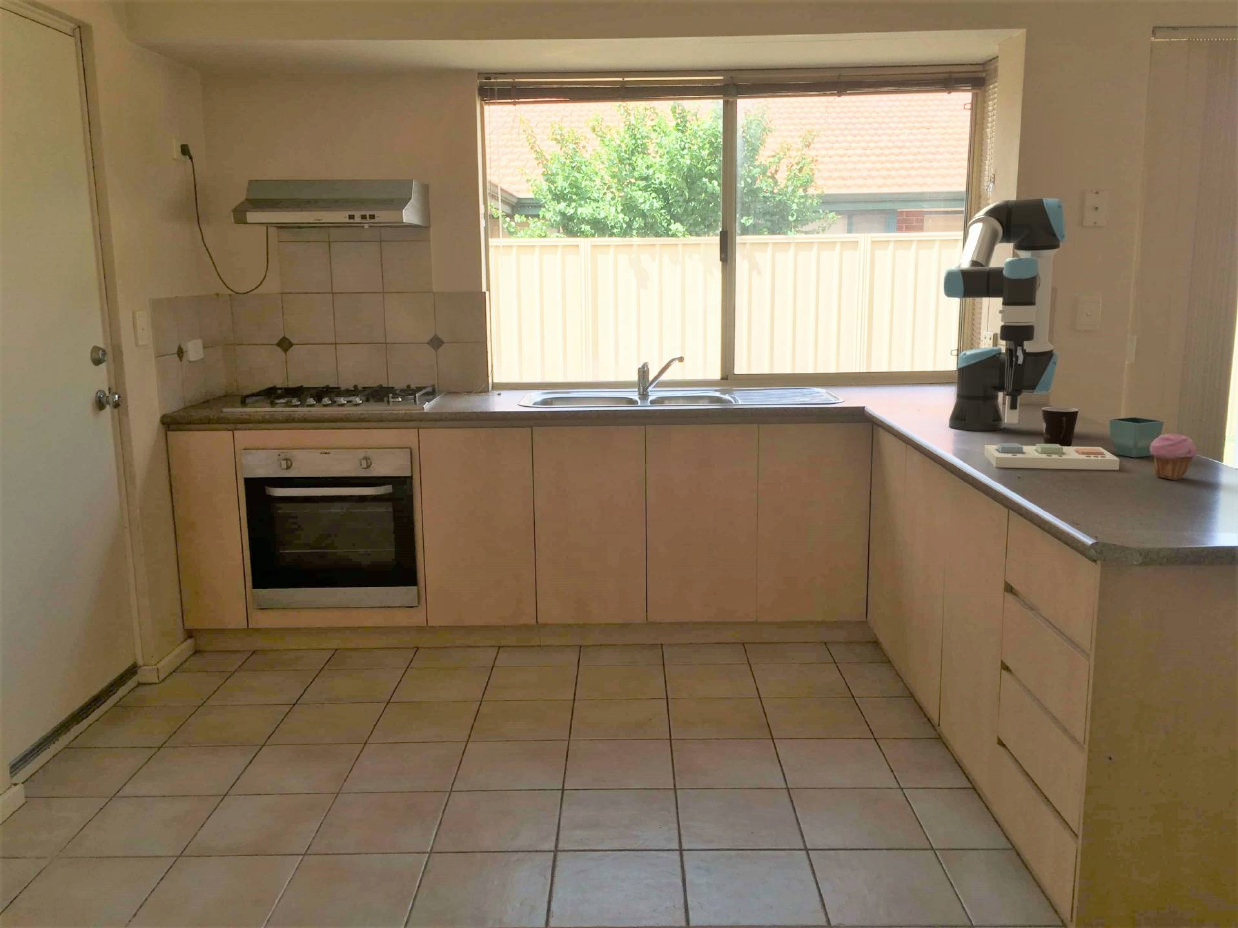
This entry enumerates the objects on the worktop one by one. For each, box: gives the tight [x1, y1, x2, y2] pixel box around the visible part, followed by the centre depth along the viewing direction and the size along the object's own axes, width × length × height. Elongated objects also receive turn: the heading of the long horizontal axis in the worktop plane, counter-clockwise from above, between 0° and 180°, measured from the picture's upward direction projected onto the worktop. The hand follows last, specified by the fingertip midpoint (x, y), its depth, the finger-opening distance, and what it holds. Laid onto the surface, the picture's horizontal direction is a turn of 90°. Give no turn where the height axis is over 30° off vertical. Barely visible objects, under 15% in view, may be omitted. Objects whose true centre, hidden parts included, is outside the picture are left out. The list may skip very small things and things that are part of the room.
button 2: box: [1035, 443, 1063, 454], centre depth 236 cm, size 5×5×3 cm
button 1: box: [996, 442, 1023, 454], centre depth 238 cm, size 5×5×3 cm
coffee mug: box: [1041, 406, 1079, 447], centre depth 254 cm, size 12×9×10 cm
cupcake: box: [1150, 433, 1197, 481], centre depth 216 cm, size 9×9×10 cm
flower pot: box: [1108, 416, 1165, 459], centre depth 242 cm, size 9×9×9 cm
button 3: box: [1075, 448, 1104, 455], centre depth 235 cm, size 5×5×3 cm
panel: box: [983, 444, 1120, 471], centre depth 237 cm, size 16×27×3 cm, turn 79°
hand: (1011, 422), depth 237 cm, fingers closed
